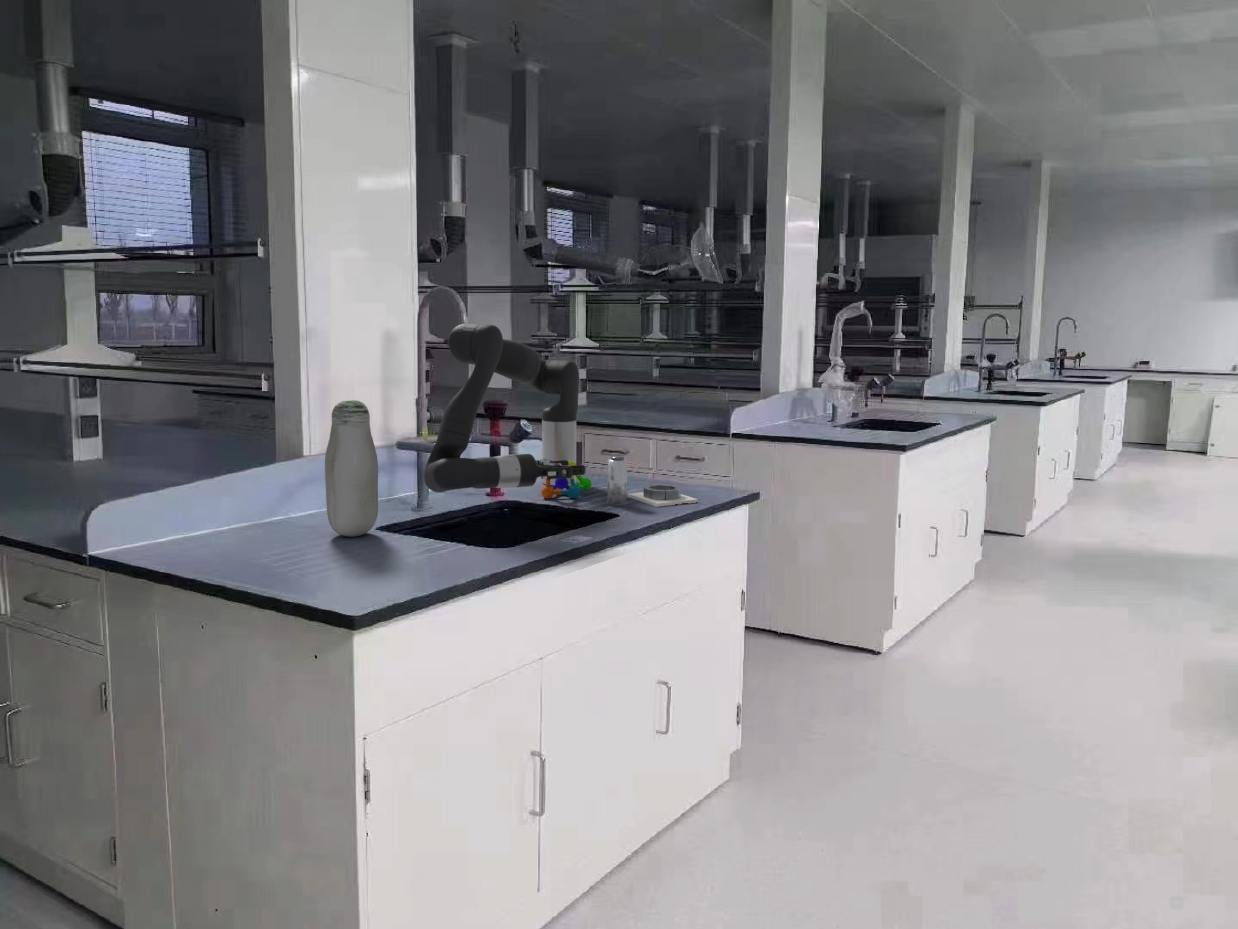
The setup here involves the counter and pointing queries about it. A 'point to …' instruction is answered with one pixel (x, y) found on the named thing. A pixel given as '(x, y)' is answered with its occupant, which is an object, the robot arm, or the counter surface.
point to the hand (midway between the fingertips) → (575, 467)
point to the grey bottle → (351, 471)
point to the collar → (662, 492)
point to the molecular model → (566, 486)
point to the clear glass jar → (617, 481)
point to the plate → (662, 502)
